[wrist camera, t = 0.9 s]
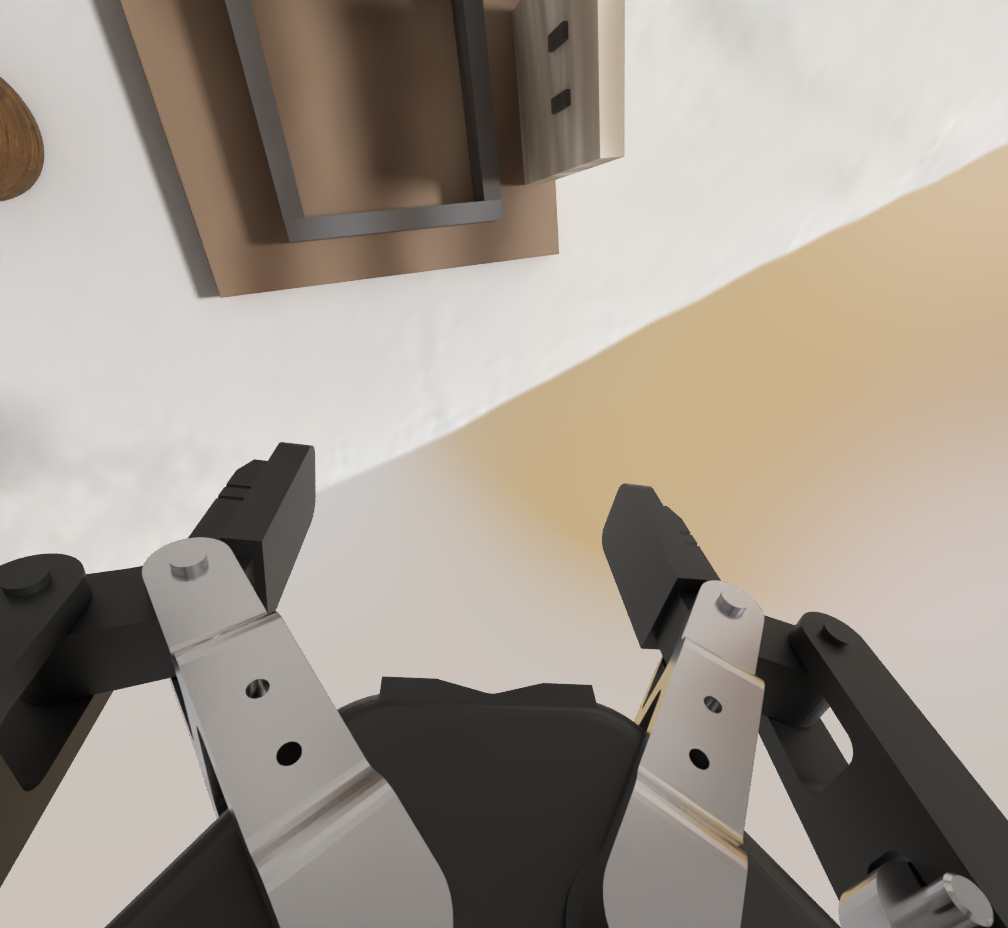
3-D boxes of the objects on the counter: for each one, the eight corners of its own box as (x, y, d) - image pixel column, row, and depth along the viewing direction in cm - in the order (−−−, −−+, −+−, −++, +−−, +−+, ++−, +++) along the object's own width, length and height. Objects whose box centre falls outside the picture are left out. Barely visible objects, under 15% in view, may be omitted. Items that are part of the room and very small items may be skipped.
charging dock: (224, 296, 27) (177, 315, 18) (90, -105, 20) (-91, -389, 11) (551, 254, 32) (638, 252, 23) (532, -77, 25) (645, -257, 16)
